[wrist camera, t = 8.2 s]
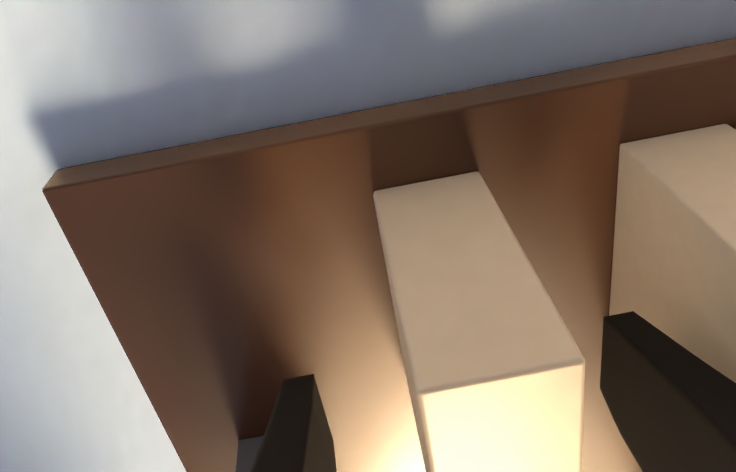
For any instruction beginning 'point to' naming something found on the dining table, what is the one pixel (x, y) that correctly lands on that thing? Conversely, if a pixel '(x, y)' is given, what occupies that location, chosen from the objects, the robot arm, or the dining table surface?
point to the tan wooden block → (478, 334)
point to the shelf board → (361, 246)
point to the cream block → (680, 240)
